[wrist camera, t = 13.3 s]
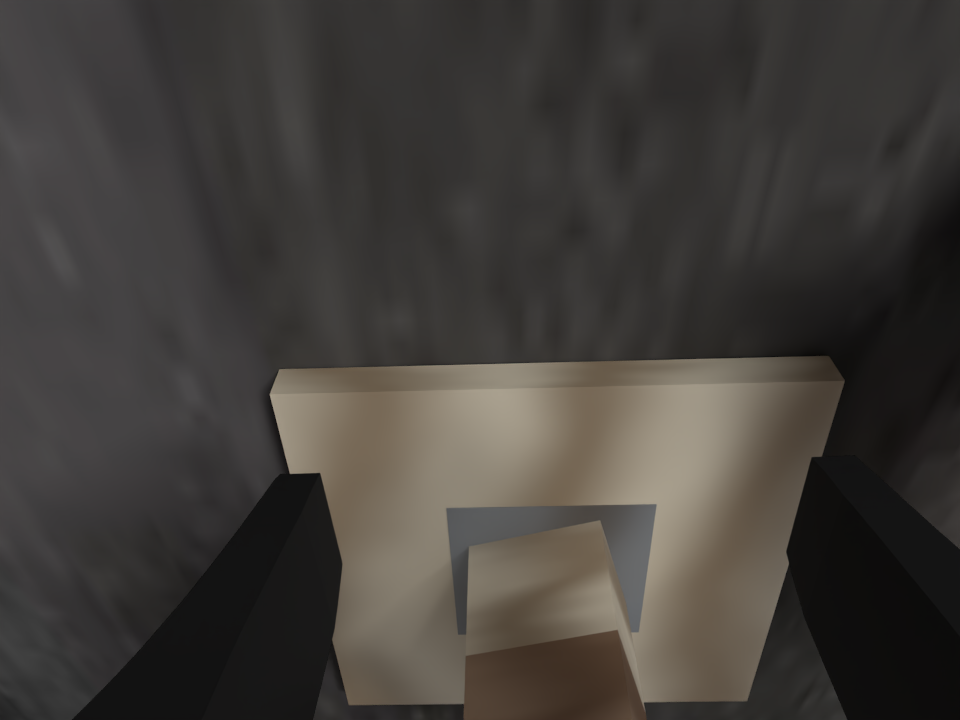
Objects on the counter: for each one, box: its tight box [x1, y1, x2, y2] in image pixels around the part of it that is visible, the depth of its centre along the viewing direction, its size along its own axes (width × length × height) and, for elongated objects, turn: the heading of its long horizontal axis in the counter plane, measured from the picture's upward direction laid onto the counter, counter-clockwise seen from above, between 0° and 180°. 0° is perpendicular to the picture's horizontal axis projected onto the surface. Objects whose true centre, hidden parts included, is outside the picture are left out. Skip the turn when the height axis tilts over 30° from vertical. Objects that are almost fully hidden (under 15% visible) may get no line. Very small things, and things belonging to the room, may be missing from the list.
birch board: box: [270, 356, 845, 705], centre depth 26 cm, size 16×16×1 cm
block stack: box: [464, 520, 647, 720], centre depth 22 cm, size 4×4×8 cm
